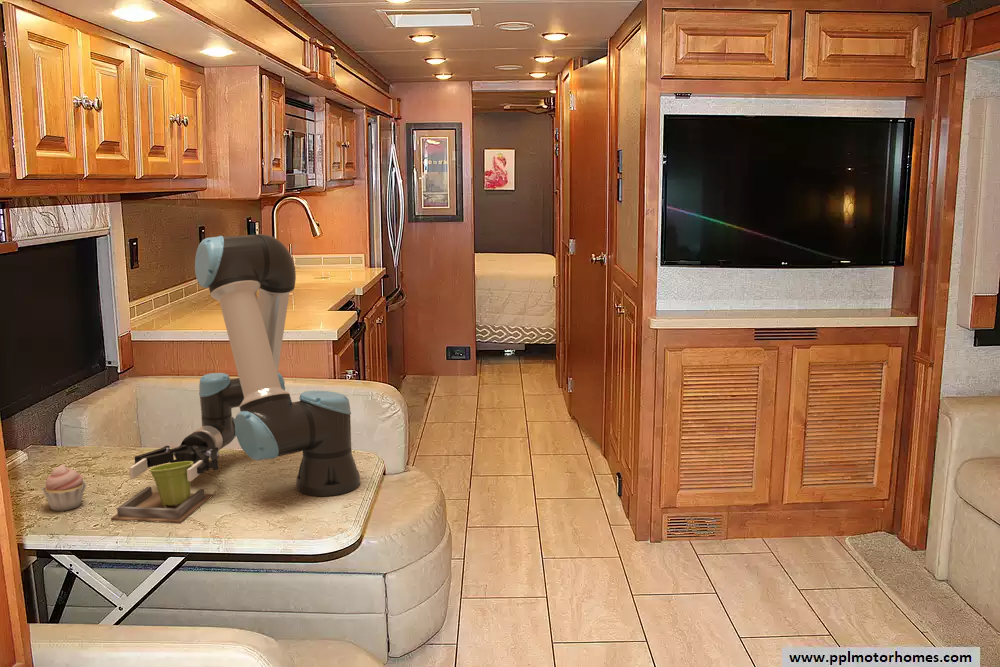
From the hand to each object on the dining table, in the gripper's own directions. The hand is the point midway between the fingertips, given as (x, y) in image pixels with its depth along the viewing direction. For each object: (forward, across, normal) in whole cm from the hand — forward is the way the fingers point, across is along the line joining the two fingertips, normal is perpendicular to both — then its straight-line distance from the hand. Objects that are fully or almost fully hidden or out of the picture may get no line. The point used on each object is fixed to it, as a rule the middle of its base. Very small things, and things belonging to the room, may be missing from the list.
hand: (159, 474), depth 193 cm
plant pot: (-1, -3, -7) cm, 8 cm away
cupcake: (+1, +23, -8) cm, 24 cm away
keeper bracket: (0, 0, -8) cm, 8 cm away
